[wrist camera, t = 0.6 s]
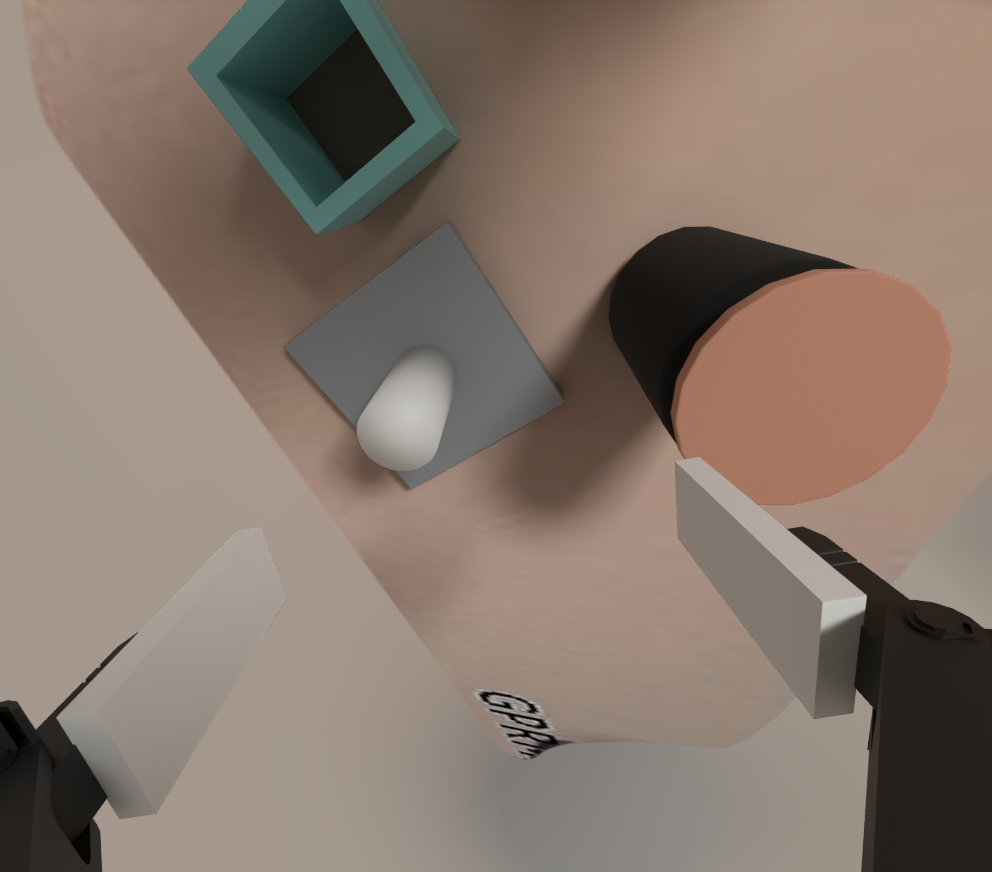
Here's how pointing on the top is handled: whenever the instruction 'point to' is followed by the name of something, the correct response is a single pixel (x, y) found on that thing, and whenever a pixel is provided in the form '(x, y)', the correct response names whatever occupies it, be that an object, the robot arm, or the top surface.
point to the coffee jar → (778, 360)
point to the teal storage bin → (277, 127)
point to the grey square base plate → (427, 361)
